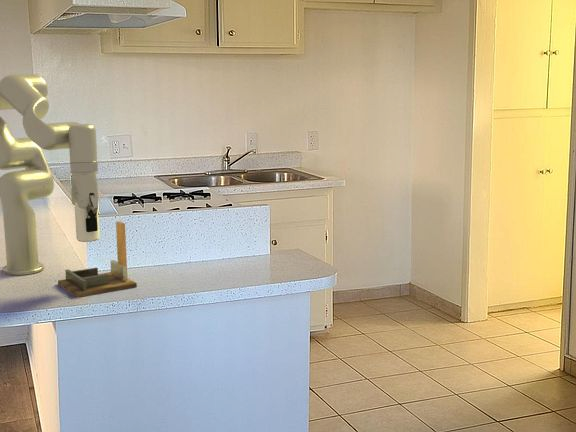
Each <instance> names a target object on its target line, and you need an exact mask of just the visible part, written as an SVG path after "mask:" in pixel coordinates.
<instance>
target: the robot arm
mask: <svg viewBox="0 0 576 432" xmlns="http://www.w3.org/2000/svg"><path fill="white" fill-rule="evenodd" d="M48 88H49V87H48V84H47V82H46V80H45V79H44V78H43V77H41V75H39V74H34V73H25V74H24V73H21V74H20V73H18V74H16V73H15V74H13V73H12V74H8V75H6V76H4V77H3V78H1V79H0V111H2V110H3V111H5V110H6V111H7V110H16V111H17V113H19V114H20V115H21V116H22V125H23V130H24V132H25V135H26V136H27V137H17V138H16V137H14V136H13V134H12V132H11V129H10V127H9V125H8V123H7V121H5V120H4V119H3V118H2V116H0V171H9V170H15V171H9V172H6V173H4V174H2V175H1V176H0V205H1V209H2V219H3V220H2V221H3V229H4V230H3V231H4V232H3V233H4V244H5V247H4V248H5V257H6V258H5V259H6V260H5V261H6V265H5V266H3V267H2V268H1V272H2V273H3V274H4V275H9V276H25V275H33V274H37V273H39V272H42V271H44V269H45V265H44V264H43V263H42V262H39V251H38V235H37V233H38V232H37V221H36V220H37V219H36V213H35V210H34V209H33V208H32V206H31V205H30V203H29V201H31V200H38V199H43V198H44V199H45V198H47V197H49V196H51V195H52V194H53V193H54V188H55V181H54V177H53V174H52V172H51V169H50V167H49V165H48V162H47V159H46V155H45V154H44V151H43V150H45V151H55V150H56V151H57V150H63V149H69V151H68V152H69V163H70V164H69V165H70V166H69V167H70V174H71V184H70V185H71V193H70V194H71V204H72V206H74V207H75V203H76V202H77V203H78V206H79V208H81V209H84V208H85V210H86V216H87V218H86V231H87V232H93V231H97V230H98V226H97V210H98V211H99V200H100V199H99V188H98V180H97V173H98V172H99V171H98V170H99V167H98V165H99V164H98V151H97V149H98V148H97V132H96V131H97V129H96V126H94V125H93V124H90V123H79V122H76V121H68V122H67V121H65V122H52V123H51V122H50V123H46V122H44V121H43V120H42V119H43V118H44V117H45V116H47V114H48V111H49V108H50V103H49V100H48V99H47V95H48V91H49V89H48ZM17 169H18V170H17ZM19 169H21V170H19ZM88 205H92V207H87V206H88ZM90 209H92V210H90ZM89 210H90V212H89Z"/></svg>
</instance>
